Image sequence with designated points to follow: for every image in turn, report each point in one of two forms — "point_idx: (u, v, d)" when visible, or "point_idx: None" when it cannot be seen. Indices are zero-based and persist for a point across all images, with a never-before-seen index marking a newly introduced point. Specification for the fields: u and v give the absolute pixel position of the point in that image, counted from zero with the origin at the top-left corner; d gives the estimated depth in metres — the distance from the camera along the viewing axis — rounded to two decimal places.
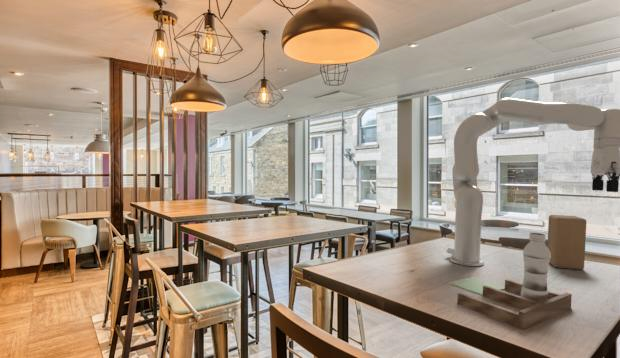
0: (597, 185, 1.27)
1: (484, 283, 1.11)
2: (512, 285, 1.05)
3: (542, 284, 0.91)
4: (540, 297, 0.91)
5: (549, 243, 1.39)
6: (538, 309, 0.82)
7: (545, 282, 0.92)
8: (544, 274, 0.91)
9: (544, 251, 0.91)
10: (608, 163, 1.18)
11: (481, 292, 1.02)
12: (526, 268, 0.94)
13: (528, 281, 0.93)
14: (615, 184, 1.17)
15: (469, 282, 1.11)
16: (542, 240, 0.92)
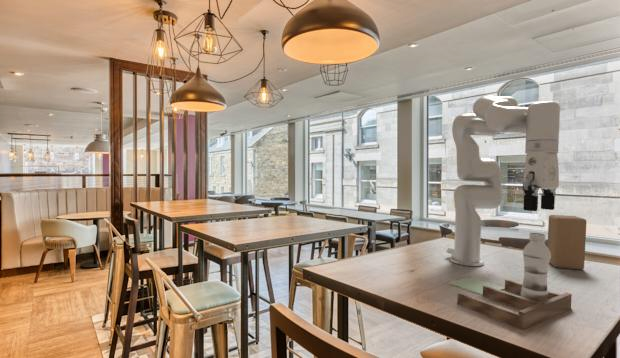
0: None
1: (484, 283, 1.11)
2: (512, 285, 1.05)
3: (542, 284, 0.91)
4: (540, 297, 0.91)
5: (549, 243, 1.39)
6: (538, 309, 0.82)
7: (545, 282, 0.92)
8: (544, 274, 0.91)
9: (544, 251, 0.91)
10: None
11: (481, 292, 1.02)
12: (526, 268, 0.94)
13: (528, 281, 0.93)
14: None
15: (469, 282, 1.11)
16: (542, 240, 0.92)
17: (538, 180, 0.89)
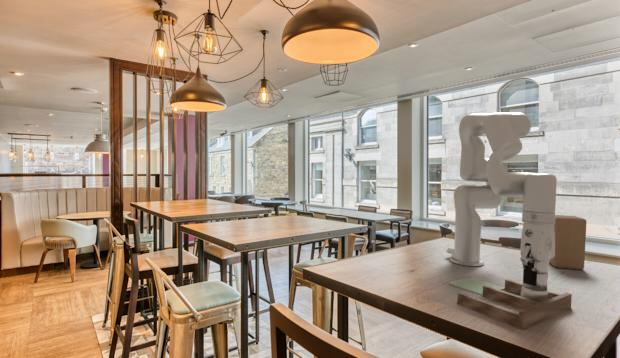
0: None
1: (484, 283, 1.11)
2: (512, 285, 1.05)
3: (542, 284, 0.91)
4: (540, 297, 0.91)
5: None
6: (538, 309, 0.82)
7: (545, 282, 0.92)
8: (544, 274, 0.91)
9: None
10: None
11: (481, 292, 1.02)
12: None
13: None
14: None
15: (469, 282, 1.11)
16: None
17: (534, 253, 0.90)
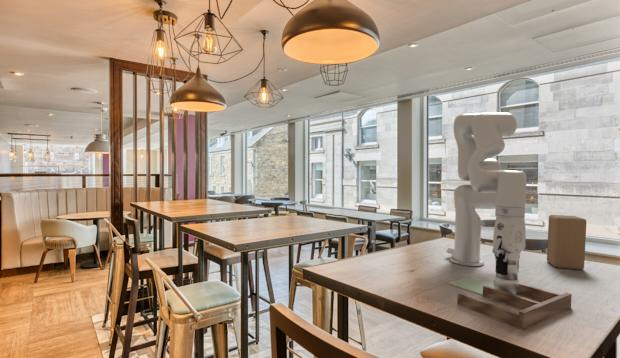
0: None
1: (484, 283, 1.11)
2: None
3: (513, 274, 0.98)
4: (511, 286, 0.98)
5: (549, 243, 1.39)
6: (538, 309, 0.82)
7: (515, 272, 0.98)
8: (514, 264, 0.98)
9: None
10: None
11: (481, 292, 1.02)
12: None
13: None
14: None
15: (469, 282, 1.11)
16: None
17: (505, 245, 0.96)
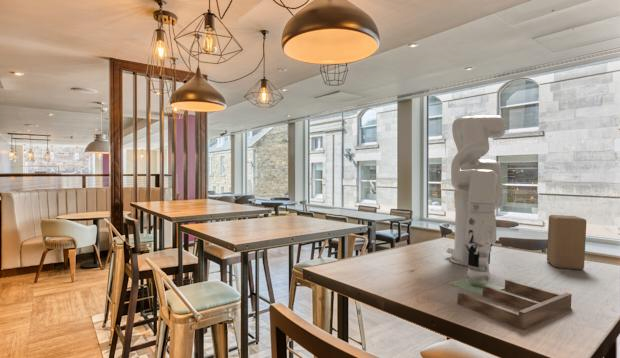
0: None
1: None
2: (512, 285, 1.05)
3: (483, 265, 1.05)
4: (482, 277, 1.05)
5: (549, 243, 1.39)
6: (538, 309, 0.82)
7: (486, 264, 1.06)
8: (485, 257, 1.05)
9: None
10: None
11: (481, 292, 1.02)
12: None
13: None
14: None
15: (469, 282, 1.11)
16: None
17: (476, 238, 1.04)
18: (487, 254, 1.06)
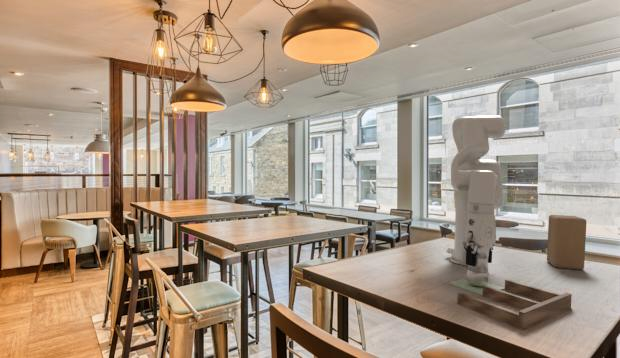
0: None
1: None
2: (512, 285, 1.05)
3: (483, 267, 1.06)
4: (481, 278, 1.05)
5: (549, 243, 1.39)
6: (538, 309, 0.82)
7: (486, 265, 1.06)
8: (484, 258, 1.06)
9: None
10: None
11: (481, 292, 1.02)
12: None
13: None
14: None
15: None
16: None
17: (475, 239, 1.04)
18: (486, 255, 1.06)
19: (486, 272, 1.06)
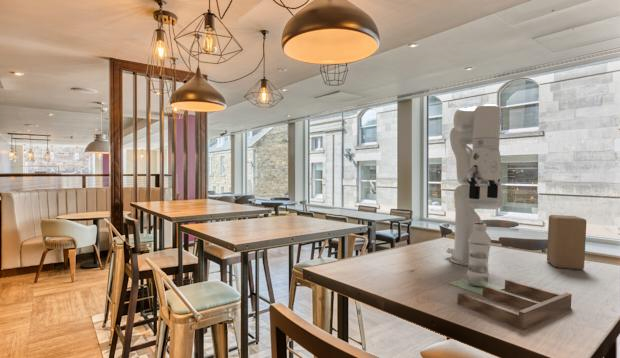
0: None
1: None
2: (512, 285, 1.05)
3: (483, 267, 1.06)
4: (481, 278, 1.05)
5: (549, 243, 1.39)
6: (538, 309, 0.82)
7: (486, 265, 1.06)
8: (484, 258, 1.06)
9: (484, 238, 1.05)
10: None
11: (481, 292, 1.02)
12: (470, 253, 1.08)
13: (471, 265, 1.07)
14: None
15: None
16: (483, 229, 1.06)
17: (480, 172, 1.03)
18: (486, 255, 1.06)
19: (486, 272, 1.06)
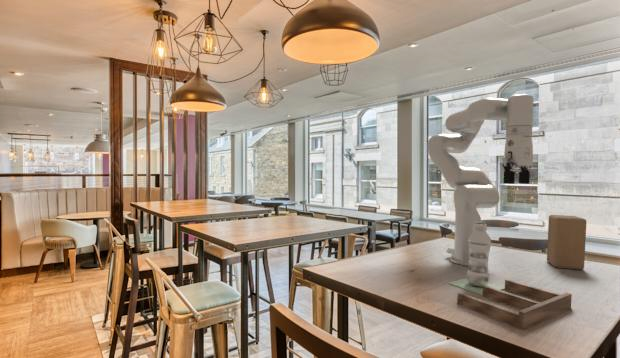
0: None
1: None
2: (512, 285, 1.05)
3: (483, 267, 1.05)
4: (481, 278, 1.05)
5: (549, 243, 1.39)
6: (538, 309, 0.82)
7: (486, 265, 1.06)
8: (484, 258, 1.06)
9: (484, 238, 1.05)
10: None
11: (481, 292, 1.02)
12: (470, 253, 1.08)
13: (471, 264, 1.07)
14: None
15: None
16: (483, 229, 1.06)
17: (515, 158, 1.09)
18: (486, 255, 1.06)
19: (486, 272, 1.06)
